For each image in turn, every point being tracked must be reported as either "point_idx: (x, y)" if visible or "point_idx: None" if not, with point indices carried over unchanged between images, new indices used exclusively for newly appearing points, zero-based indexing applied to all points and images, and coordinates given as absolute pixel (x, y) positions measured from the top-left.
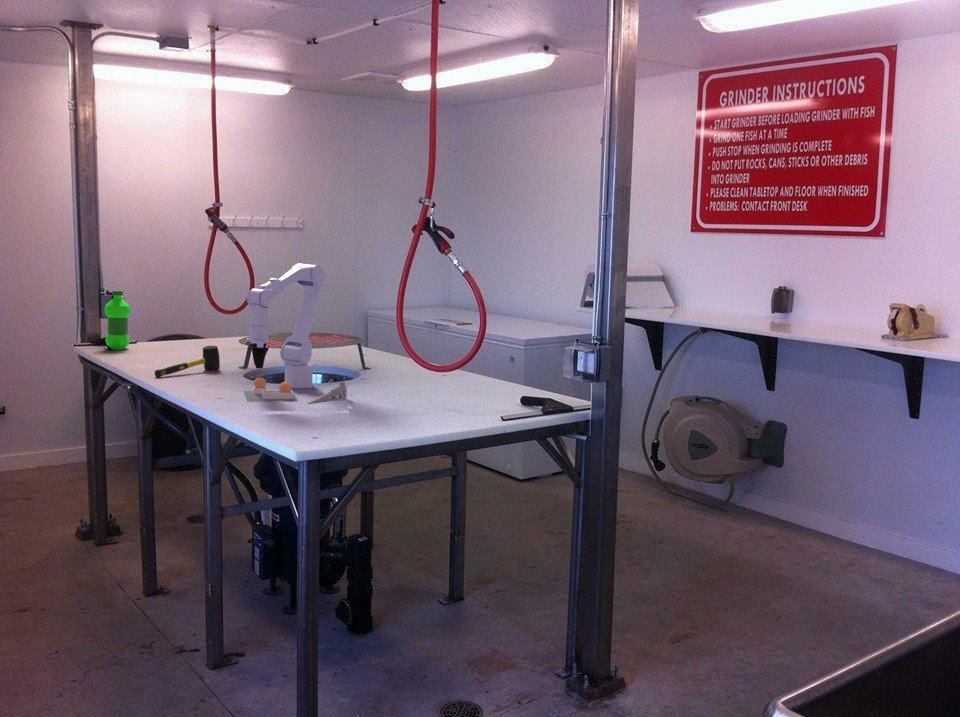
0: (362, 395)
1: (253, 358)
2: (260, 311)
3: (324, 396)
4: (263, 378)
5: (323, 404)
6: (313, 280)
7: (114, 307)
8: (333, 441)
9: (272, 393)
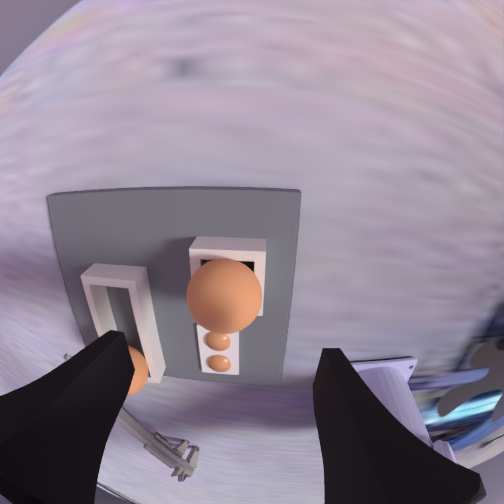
0: (240, 469)
1: (338, 386)
2: None
3: (116, 419)
4: (214, 331)
5: None
6: None
7: None
8: None
9: (91, 309)
